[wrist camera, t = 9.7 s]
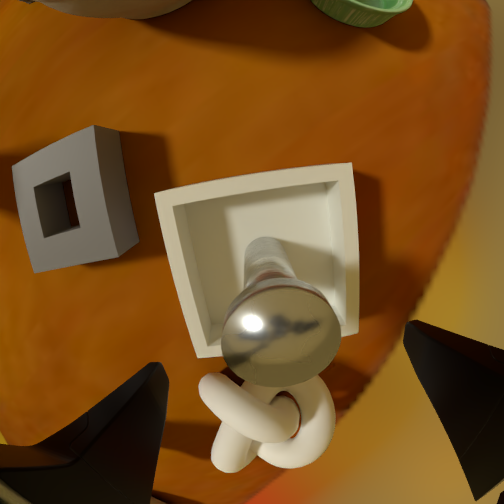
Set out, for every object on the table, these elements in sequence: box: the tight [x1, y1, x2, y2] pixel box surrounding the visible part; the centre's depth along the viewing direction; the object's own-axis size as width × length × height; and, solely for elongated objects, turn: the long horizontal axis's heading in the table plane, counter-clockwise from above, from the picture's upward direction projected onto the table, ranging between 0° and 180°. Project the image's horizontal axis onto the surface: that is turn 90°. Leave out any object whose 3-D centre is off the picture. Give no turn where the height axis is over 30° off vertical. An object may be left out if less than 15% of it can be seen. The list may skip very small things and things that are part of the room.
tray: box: [154, 163, 359, 358], centre depth 19 cm, size 12×12×4 cm
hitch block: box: [12, 125, 140, 273], centre depth 17 cm, size 9×9×4 cm
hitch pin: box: [221, 236, 341, 387], centre depth 15 cm, size 5×5×10 cm
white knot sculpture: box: [198, 372, 335, 473], centre depth 21 cm, size 11×12×9 cm
